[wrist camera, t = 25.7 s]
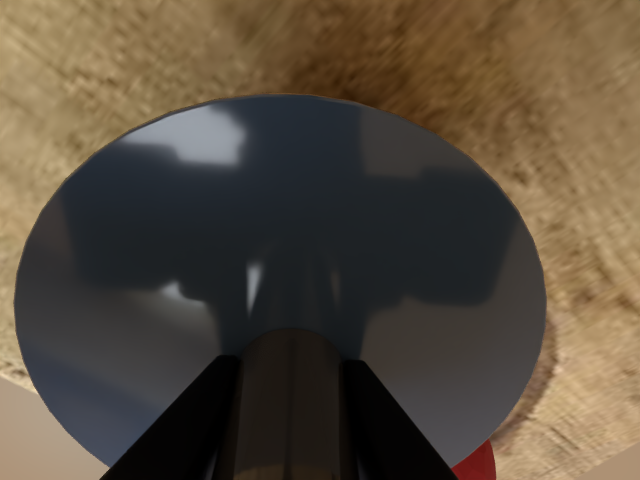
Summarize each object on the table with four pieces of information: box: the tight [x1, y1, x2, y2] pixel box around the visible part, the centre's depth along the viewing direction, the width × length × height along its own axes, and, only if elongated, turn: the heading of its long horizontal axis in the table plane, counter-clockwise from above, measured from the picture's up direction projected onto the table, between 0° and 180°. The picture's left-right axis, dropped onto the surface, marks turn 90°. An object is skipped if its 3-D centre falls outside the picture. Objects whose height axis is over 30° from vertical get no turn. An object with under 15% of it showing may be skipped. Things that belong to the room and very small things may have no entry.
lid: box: [14, 93, 547, 480], centre depth 6 cm, size 12×12×6 cm
